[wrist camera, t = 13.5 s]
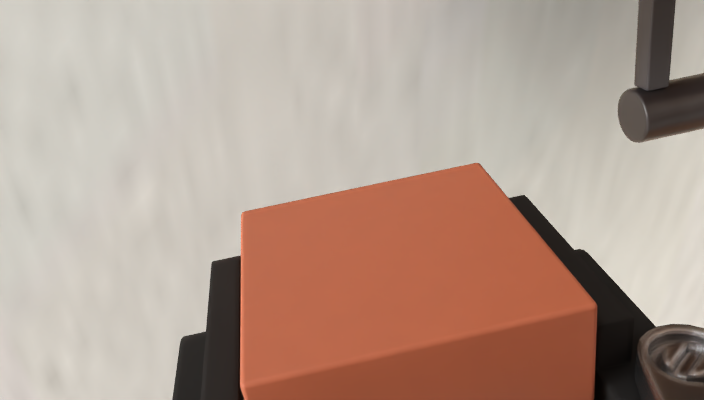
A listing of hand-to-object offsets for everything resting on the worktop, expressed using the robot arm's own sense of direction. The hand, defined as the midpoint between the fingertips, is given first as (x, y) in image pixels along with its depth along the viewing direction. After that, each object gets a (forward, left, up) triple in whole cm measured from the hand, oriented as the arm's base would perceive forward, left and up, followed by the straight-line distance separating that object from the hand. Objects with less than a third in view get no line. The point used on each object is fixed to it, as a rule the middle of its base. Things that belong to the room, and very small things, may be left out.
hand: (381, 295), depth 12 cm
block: (0, 0, 0) cm, 0 cm away
